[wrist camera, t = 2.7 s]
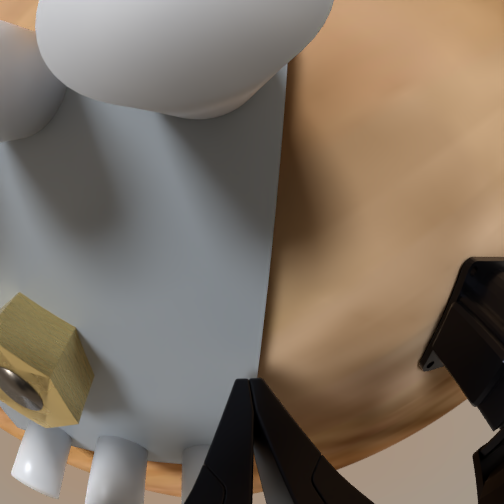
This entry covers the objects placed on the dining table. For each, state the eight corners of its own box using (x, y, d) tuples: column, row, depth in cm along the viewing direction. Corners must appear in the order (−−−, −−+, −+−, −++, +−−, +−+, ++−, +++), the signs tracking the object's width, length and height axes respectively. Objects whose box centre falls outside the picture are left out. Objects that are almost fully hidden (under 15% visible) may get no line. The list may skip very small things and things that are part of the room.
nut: (66, 296, 8) (32, 347, 5) (103, 394, 10) (90, 441, 7) (-16, 287, 7) (-49, 323, 5) (27, 377, 9) (9, 415, 7)
